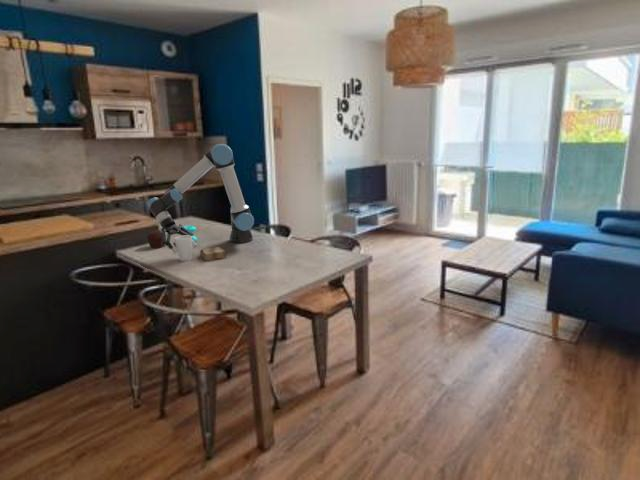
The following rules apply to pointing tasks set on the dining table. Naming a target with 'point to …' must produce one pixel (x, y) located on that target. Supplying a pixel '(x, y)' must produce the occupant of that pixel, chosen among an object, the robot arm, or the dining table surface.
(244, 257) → the dining table surface
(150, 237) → the muffin
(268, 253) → the dining table surface
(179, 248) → the foam cup
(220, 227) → the dining table surface
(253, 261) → the dining table surface
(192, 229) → the donuts
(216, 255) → the pedestal
